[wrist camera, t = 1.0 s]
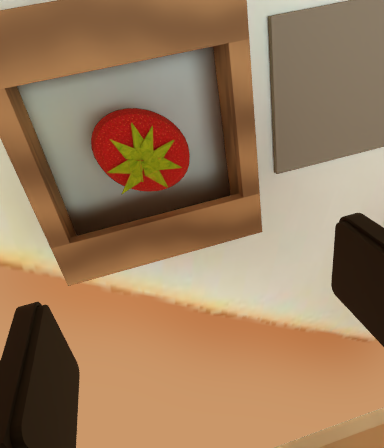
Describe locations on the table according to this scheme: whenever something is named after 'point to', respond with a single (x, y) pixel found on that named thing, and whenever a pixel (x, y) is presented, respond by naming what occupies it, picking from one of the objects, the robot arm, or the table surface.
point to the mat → (326, 82)
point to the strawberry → (140, 149)
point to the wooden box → (113, 56)
